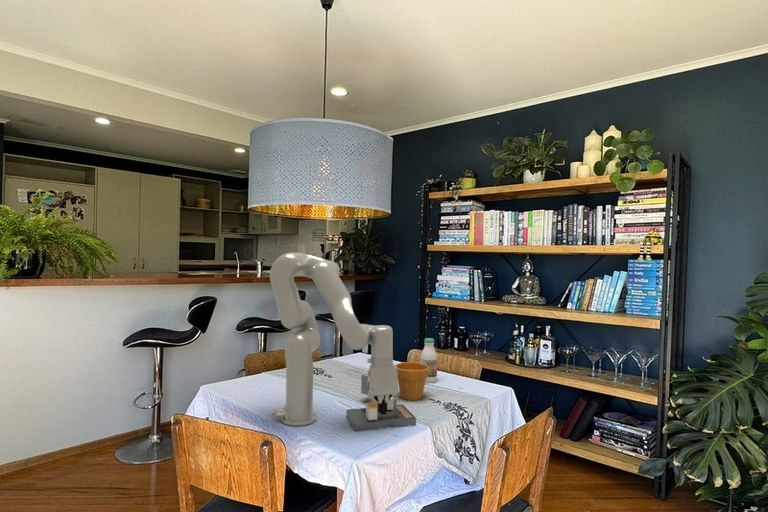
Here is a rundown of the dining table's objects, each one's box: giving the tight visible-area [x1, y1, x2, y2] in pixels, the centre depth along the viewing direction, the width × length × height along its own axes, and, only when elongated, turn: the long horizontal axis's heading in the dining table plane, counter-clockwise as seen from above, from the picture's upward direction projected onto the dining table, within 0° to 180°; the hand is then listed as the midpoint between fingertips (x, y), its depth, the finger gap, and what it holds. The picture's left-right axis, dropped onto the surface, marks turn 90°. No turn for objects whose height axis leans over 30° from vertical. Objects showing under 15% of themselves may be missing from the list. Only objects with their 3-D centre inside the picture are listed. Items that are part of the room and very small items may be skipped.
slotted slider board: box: [345, 404, 417, 432], centre depth 159 cm, size 22×14×3 cm, turn 107°
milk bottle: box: [420, 337, 438, 384], centre depth 210 cm, size 8×8×20 cm
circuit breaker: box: [360, 367, 398, 407], centre depth 178 cm, size 8×14×15 cm, turn 51°
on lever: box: [387, 397, 393, 410], centre depth 164 cm, size 3×4×4 cm
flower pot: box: [395, 361, 429, 401], centre depth 186 cm, size 14×14×13 cm
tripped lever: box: [365, 402, 377, 420], centre depth 154 cm, size 3×4×5 cm
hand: (382, 413), depth 155 cm, fingers closed
